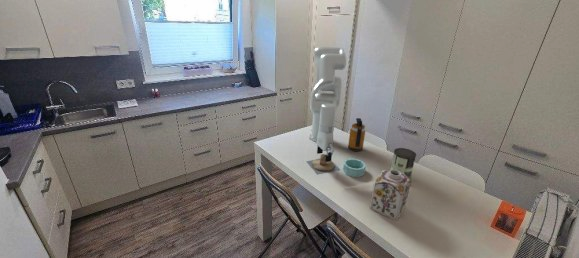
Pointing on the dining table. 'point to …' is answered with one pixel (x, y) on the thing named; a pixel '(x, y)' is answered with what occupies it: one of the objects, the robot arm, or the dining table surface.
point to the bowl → (354, 167)
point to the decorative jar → (390, 193)
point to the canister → (357, 136)
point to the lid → (322, 164)
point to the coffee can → (403, 161)
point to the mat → (322, 171)
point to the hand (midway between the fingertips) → (323, 157)
